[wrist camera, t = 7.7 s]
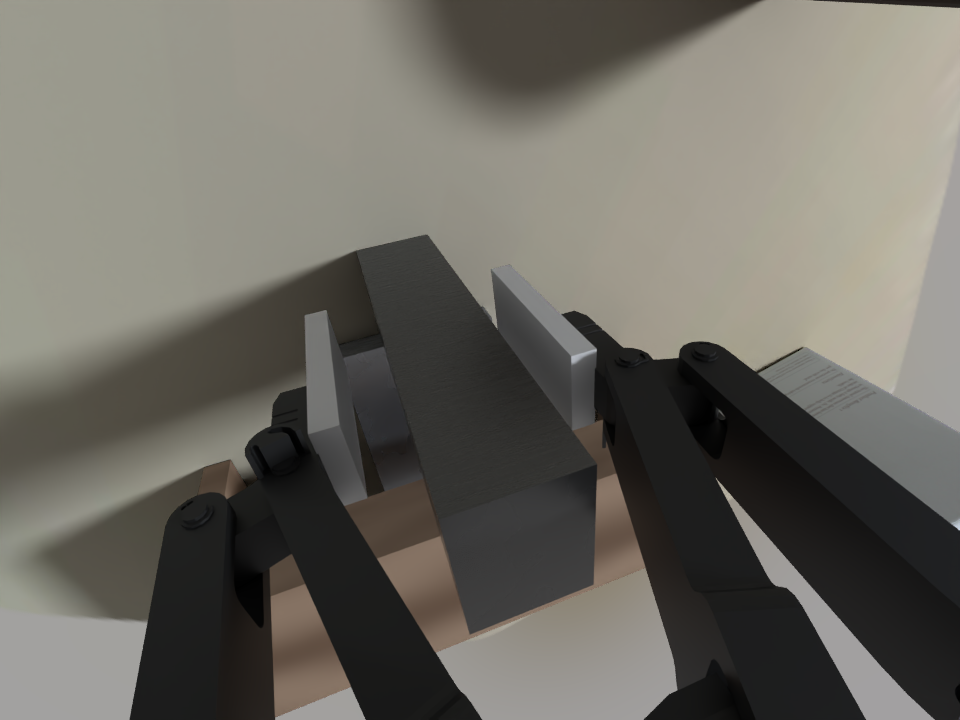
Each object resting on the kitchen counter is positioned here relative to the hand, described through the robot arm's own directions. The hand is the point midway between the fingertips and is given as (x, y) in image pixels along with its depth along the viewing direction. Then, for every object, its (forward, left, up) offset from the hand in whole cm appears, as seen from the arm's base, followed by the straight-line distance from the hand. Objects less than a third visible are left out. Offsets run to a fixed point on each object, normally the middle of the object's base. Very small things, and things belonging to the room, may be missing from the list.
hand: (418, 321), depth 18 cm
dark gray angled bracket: (+7, 0, -3) cm, 8 cm away
